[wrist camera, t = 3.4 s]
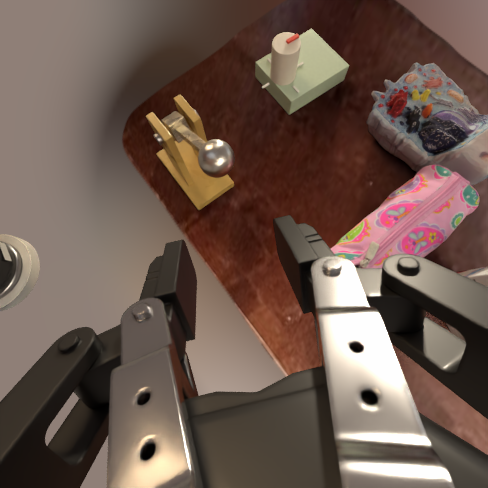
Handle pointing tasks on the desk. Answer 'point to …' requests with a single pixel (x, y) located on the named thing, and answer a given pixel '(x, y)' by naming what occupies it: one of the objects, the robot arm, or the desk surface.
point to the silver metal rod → (202, 147)
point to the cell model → (431, 123)
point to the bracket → (188, 158)
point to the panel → (305, 73)
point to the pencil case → (411, 218)
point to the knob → (284, 58)
